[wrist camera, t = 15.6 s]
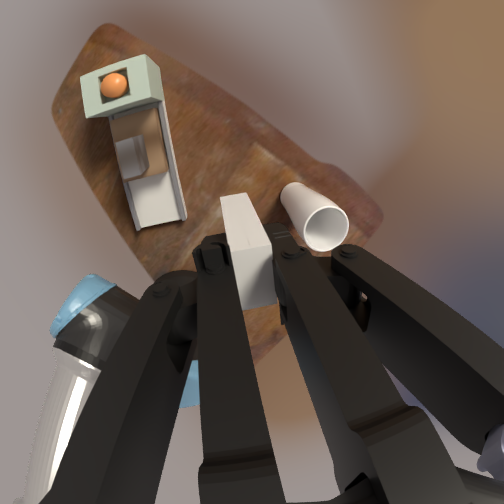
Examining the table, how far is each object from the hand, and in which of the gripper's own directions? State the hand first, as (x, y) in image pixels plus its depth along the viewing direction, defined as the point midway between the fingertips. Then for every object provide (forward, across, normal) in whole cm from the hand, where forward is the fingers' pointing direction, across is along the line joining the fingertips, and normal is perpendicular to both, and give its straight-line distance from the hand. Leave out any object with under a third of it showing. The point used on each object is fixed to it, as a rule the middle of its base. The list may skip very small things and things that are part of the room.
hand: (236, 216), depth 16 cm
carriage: (+29, +11, -4) cm, 31 cm away
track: (+30, +12, 0) cm, 33 cm away
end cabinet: (+30, +12, -13) cm, 35 cm away
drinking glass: (+31, -12, +10) cm, 34 cm away
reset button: (+21, +12, -13) cm, 27 cm away
